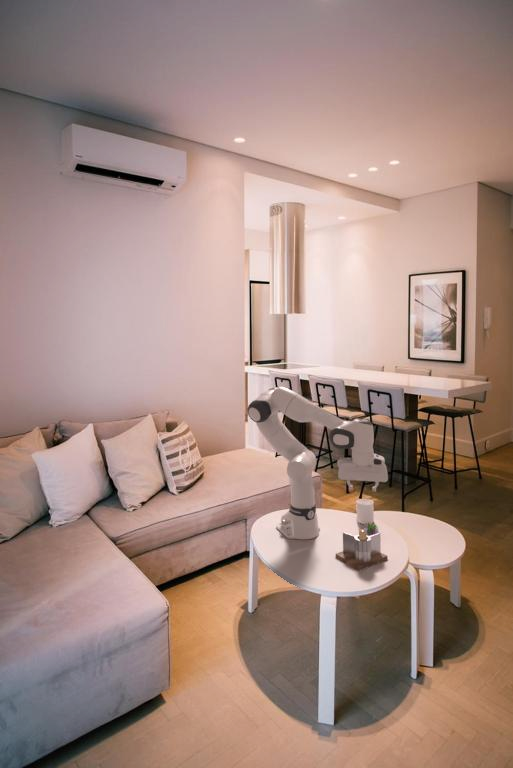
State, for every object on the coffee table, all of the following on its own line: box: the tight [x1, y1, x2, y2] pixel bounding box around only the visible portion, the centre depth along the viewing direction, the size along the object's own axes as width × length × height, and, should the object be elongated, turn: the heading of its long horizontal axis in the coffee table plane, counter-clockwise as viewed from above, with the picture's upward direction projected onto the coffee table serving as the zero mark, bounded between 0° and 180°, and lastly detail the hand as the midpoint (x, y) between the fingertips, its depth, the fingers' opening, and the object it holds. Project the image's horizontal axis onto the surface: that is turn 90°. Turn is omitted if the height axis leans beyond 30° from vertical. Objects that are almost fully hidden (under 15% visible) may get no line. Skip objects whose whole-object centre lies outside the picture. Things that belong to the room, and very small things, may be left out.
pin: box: [358, 528, 367, 540], centre depth 191 cm, size 3×3×12 cm
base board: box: [335, 550, 388, 571], centre depth 195 cm, size 14×16×2 cm
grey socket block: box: [342, 531, 382, 563], centre depth 195 cm, size 13×13×9 cm
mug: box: [355, 498, 375, 525], centre depth 235 cm, size 12×8×10 cm
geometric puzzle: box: [363, 523, 380, 536], centre depth 214 cm, size 7×7×8 cm
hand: (362, 490), depth 194 cm, fingers open, 8 cm apart
